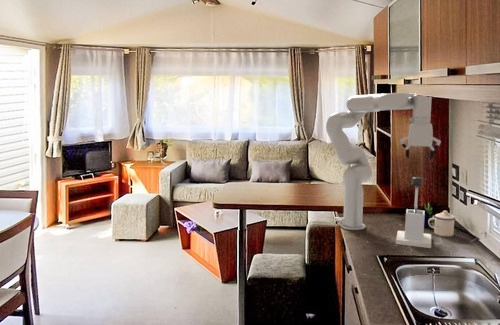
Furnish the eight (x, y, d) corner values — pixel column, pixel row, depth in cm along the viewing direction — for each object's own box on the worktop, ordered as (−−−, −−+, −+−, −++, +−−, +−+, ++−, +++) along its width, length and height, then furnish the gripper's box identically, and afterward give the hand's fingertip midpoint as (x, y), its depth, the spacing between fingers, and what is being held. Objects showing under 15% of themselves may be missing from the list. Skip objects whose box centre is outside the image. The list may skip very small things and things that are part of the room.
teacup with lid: (454, 232, 220) (456, 209, 218) (453, 238, 212) (454, 214, 210) (428, 229, 226) (430, 207, 224) (426, 234, 218) (427, 211, 216)
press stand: (395, 244, 203) (397, 214, 201) (397, 234, 217) (399, 206, 215) (431, 248, 198) (433, 217, 196) (430, 238, 212) (432, 209, 210)
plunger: (408, 217, 204) (410, 178, 201) (408, 213, 209) (411, 176, 207) (421, 218, 202) (424, 179, 199) (421, 215, 207) (424, 177, 205)
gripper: (400, 121, 199) (398, 158, 201) (442, 121, 192) (440, 160, 195) (401, 120, 205) (399, 156, 208) (442, 120, 199) (439, 158, 202)
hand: (419, 158), depth 201 cm, fingers open, 9 cm apart
